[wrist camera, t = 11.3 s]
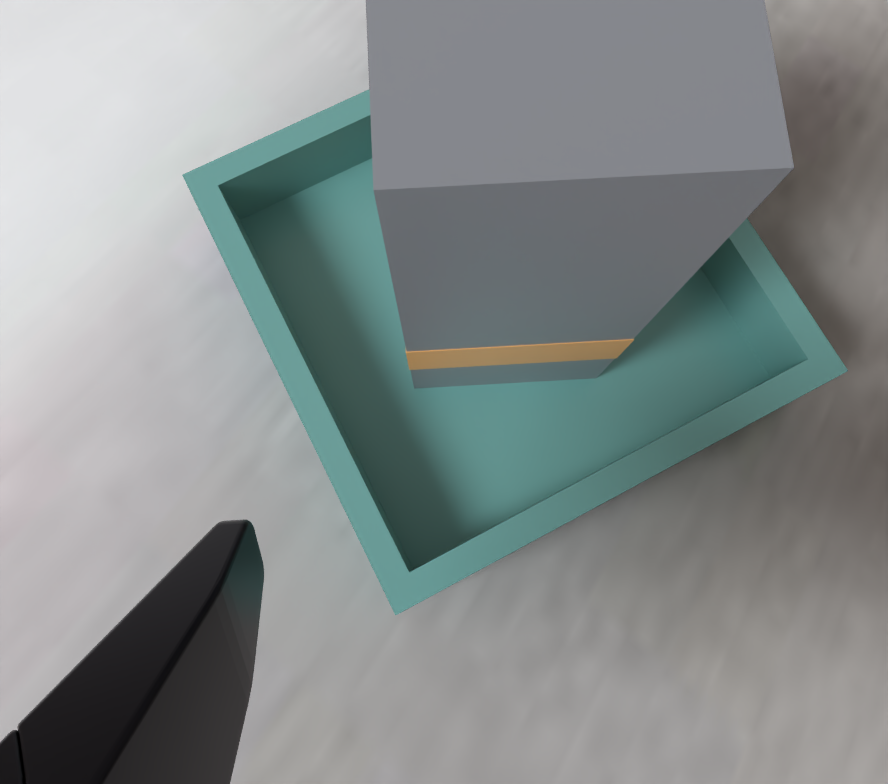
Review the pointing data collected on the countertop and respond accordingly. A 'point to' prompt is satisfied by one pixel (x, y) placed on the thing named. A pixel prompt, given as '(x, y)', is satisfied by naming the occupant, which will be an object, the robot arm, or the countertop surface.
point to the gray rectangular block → (560, 170)
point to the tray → (478, 406)
